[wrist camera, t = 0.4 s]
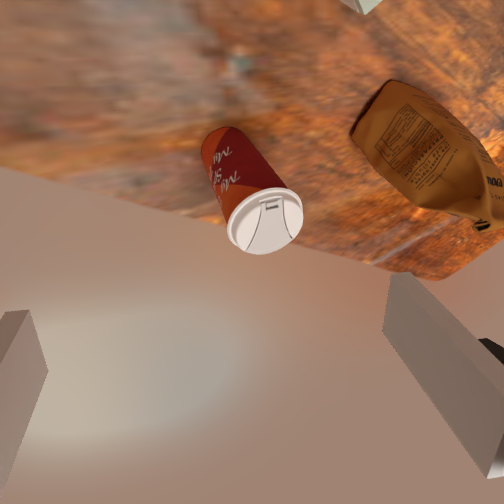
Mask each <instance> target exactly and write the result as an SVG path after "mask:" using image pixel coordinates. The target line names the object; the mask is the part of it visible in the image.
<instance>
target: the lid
mask: <svg viewBox="0 0 504 504" xmlns="http://www.w3.org/2000/svg"><path fill="white" fill-rule="evenodd" d="M381 1H382V0H355V2H356V5H357V7H358V10H359V12H360V13H362V14H364V15H366V14H367V13H368V12H369V11H370V10H372V9H373V8H374V7H375V6H376V5H377V4H379V3H380V2H381Z"/></svg>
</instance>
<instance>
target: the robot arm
mask: <svg viewBox="0 0 504 504" xmlns="http://www.w3.org/2000/svg"><path fill="white" fill-rule="evenodd" d="M382 332H383V333H384V335H385V336H386V338H387V339H388V340H389V342H390V343H391V345H392V346H393V348H394V349H395V350H396V352H397V353H398V355H399V356H400V357H401V359H402V360H403V362H404V363H405V365H406V366H407V367H408V369H409V370H410V372H411V373H412V374H413V376H414V377H415V379H416V380H417V381H418V383H419V384H420V386H421V387H422V388H423V390H424V391H425V392H426V394H427V396H428V397H429V398H430V400H431V401H432V403H433V404H434V406H435V407H436V408H437V410H438V411H439V413H440V414H441V415H442V417H443V418H444V420H445V421H446V422H447V424H448V425H449V427H450V428H451V430H452V431H453V432H454V434H455V435H456V437H457V438H458V439H459V441H460V442H461V444H462V445H463V446H464V448H465V449H466V451H467V452H468V454H469V455H470V456H471V458H472V459H473V461H474V462H475V463H476V465H477V466H478V467H479V469H480V470H481V472H482V473H483V475H484V476H485V478H486V479H490V478H495V477H501V476H504V348H503V347H502V346H500V345H498V344H496V343H495V342H493V341H491V340H489V339H487V338H484V339H477V338H476V337H475V336H474V335H473V334H472V333H471V332H470V331H468V329H467V328H466V327H465V326H464V325H463V324H462V323H461V322H460V321H459V320H458V319H456V317H455V316H454V315H453V314H452V313H451V312H450V311H449V310H448V309H446V308H445V306H444V305H443V304H442V303H441V302H440V301H438V300H437V298H436V297H435V296H434V295H432V294H431V293H430V292H429V291H428V290H427V289H426V288H425V287H424V286H423V285H422V284H421V283H420V282H419V281H418V280H417V279H416V278H415V277H414V276H413V275H412V274H411V273H410V272H404V273H394V274H391V278H390V285H389V291H388V298H387V304H386V310H385V317H384V323H383V329H382ZM47 373H48V369H47V365H46V362H45V359H44V356H43V352H42V349H41V346H40V342H39V339H38V336H37V333H36V329H35V326H34V323H33V320H32V316H31V313H30V310H20V311H11V312H5V314H4V315H3V317H2V318H1V320H0V498H1V495H2V492H3V490H4V487H5V484H6V482H7V479H8V476H9V474H10V471H11V469H12V466H13V463H14V461H15V458H16V455H17V452H18V450H19V447H20V444H21V442H22V439H23V437H24V434H25V431H26V429H27V426H28V423H29V421H30V418H31V415H32V413H33V410H34V408H35V405H36V402H37V400H38V397H39V394H40V392H41V389H42V386H43V383H44V381H45V378H46V376H47Z"/></svg>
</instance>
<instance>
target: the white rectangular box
mask: <svg viewBox="0 0 504 504" xmlns="http://www.w3.org/2000/svg"><path fill="white" fill-rule="evenodd" d="M340 1H341V2H343V3H344V4H346V5H347V6H349V7H350V8H352V9H353V10H355V11H356V12H359V10H358V7H357V5H356V2H355V0H340Z"/></svg>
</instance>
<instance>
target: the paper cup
mask: <svg viewBox="0 0 504 504" xmlns="http://www.w3.org/2000/svg"><path fill="white" fill-rule="evenodd" d="M201 155H202V159H203V162H204V165H205V168H206V171H207V173H208V176H209V179H210V181H211V184H212V186H213V189H214V192H215V194H216V197H217V199H218V202H219V204H220V207H221V210H222V212H223V215H224V217H225V220H226V222H227V232H228V236H229V239H230V240H231V242H232V243H233V244H235V245H236V246H238V247H239V248H240V249H242V250H243V251H245V252H248V253H251V254H258V255H260V254H267V253H270V252H273V251H276V250H278V249H280V248H282V247H283V246H285V245H286V244H288V243H289V242H290V241H291V240H293V239H294V238H295V237H296V235H297V234H298V232H299V231H300V229H301V226H302V223H303V212H302V202H301V200H300V198H299V197H298V195H297V194H296V193H294V192H293V191H291V190H289V189H288V188H287V187H286V185H285V184H284V183H283V182H282V180H281V179H280V178H279V177H278V175H277V174H276V173H275V172H274V170H273V169H272V168H271V166H270V165H269V164H268V163H267V161H266V160H265V159H264V158H263V156H262V155H261V154H260V153H259V151H258V150H257V149H256V148H255V147H254V145H253V144H252V143H251V142H250V140H249V139H248V138H247V137H246V136H245V135H244V134H243V133H242V132H241V131H240V130H238V129H236V128H233V127H223V128H220V129H217V130H215V131H213V132H212V133H211V134H209V135H208V137H207V138H206V139H205V141H204V142H203V145H202V149H201ZM291 236H292V237H291ZM292 238H293V239H292Z"/></svg>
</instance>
